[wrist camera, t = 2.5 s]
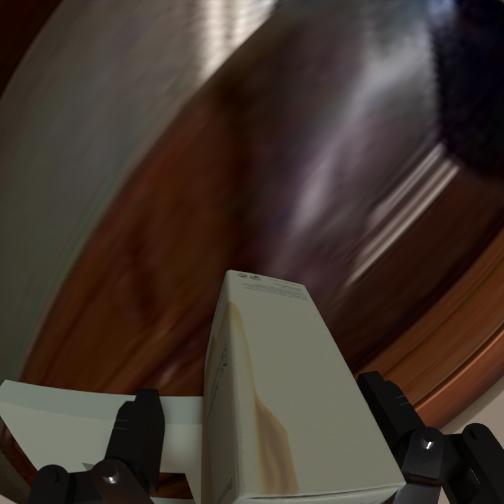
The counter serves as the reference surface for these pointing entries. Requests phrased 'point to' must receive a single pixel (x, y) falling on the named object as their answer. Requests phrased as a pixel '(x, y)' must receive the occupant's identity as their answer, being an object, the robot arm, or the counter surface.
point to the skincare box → (285, 406)
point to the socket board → (97, 429)
